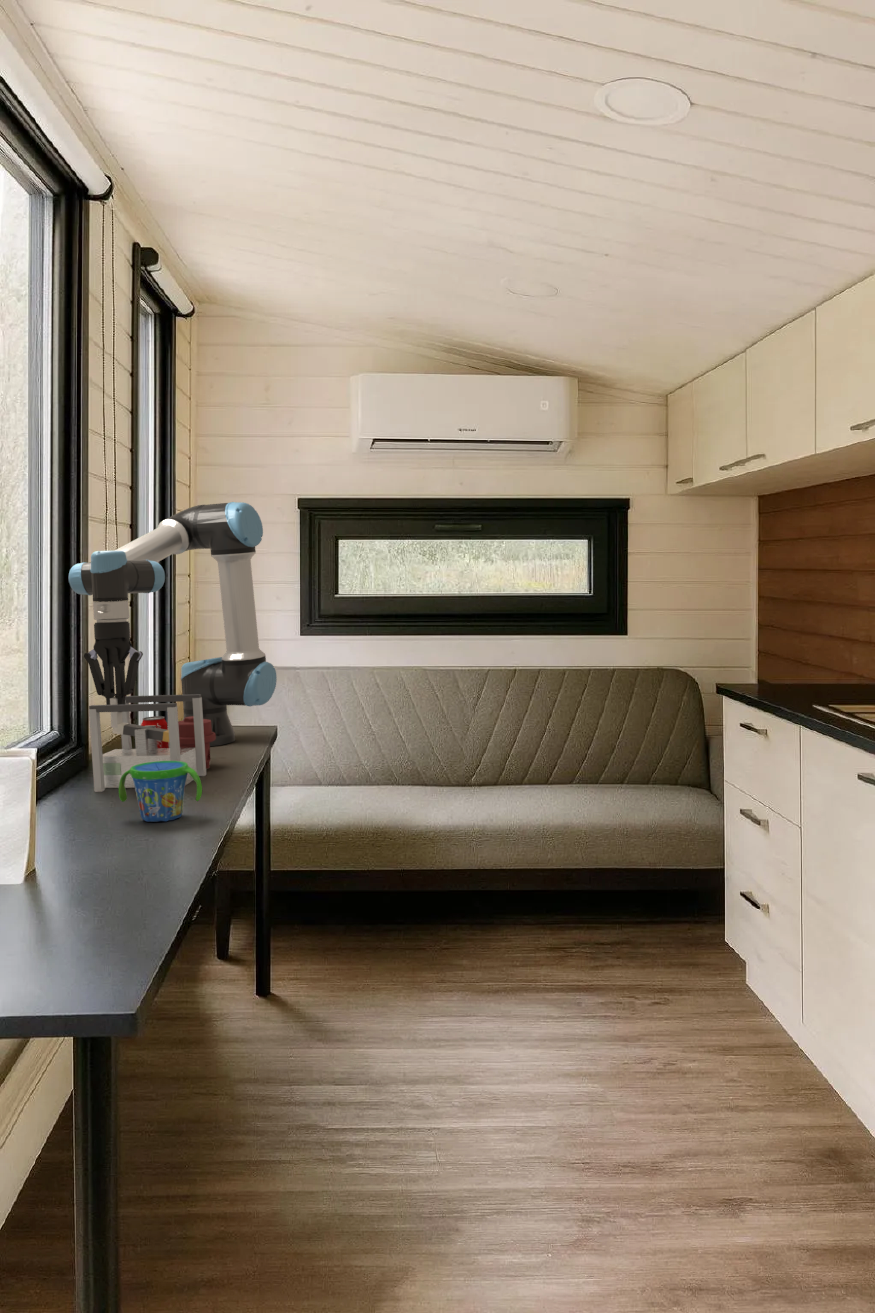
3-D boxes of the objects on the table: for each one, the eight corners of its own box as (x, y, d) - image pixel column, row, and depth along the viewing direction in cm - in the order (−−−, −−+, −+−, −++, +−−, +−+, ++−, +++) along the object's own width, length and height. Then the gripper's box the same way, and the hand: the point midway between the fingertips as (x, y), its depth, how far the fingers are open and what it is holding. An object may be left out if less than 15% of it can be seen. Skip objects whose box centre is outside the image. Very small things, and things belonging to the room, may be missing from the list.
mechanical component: (183, 764, 241) (222, 763, 240) (168, 773, 231) (209, 772, 230) (180, 714, 240) (220, 713, 239) (164, 721, 230) (206, 720, 229)
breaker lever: (118, 730, 222) (118, 721, 221) (177, 740, 220) (178, 731, 220) (112, 733, 219) (113, 723, 219) (172, 742, 217) (173, 733, 217)
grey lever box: (117, 779, 226) (113, 725, 225) (197, 778, 224) (193, 723, 223) (98, 788, 217) (95, 732, 216) (182, 787, 215) (178, 730, 214)
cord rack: (127, 776, 230) (121, 696, 228) (206, 774, 227) (201, 694, 226) (94, 792, 213) (88, 706, 212) (179, 790, 211) (174, 704, 209)
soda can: (157, 769, 236) (154, 720, 235) (137, 768, 238) (134, 719, 237) (175, 764, 241) (172, 716, 240) (155, 763, 244) (152, 715, 243)
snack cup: (212, 812, 191) (209, 760, 190) (188, 826, 180) (184, 771, 179) (138, 811, 194) (134, 760, 193) (110, 825, 183) (106, 771, 183)
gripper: (75, 622, 215) (81, 729, 217) (132, 621, 214) (138, 729, 215) (91, 620, 223) (97, 724, 224) (146, 619, 221) (151, 723, 223)
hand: (117, 726), depth 220 cm, fingers closed
